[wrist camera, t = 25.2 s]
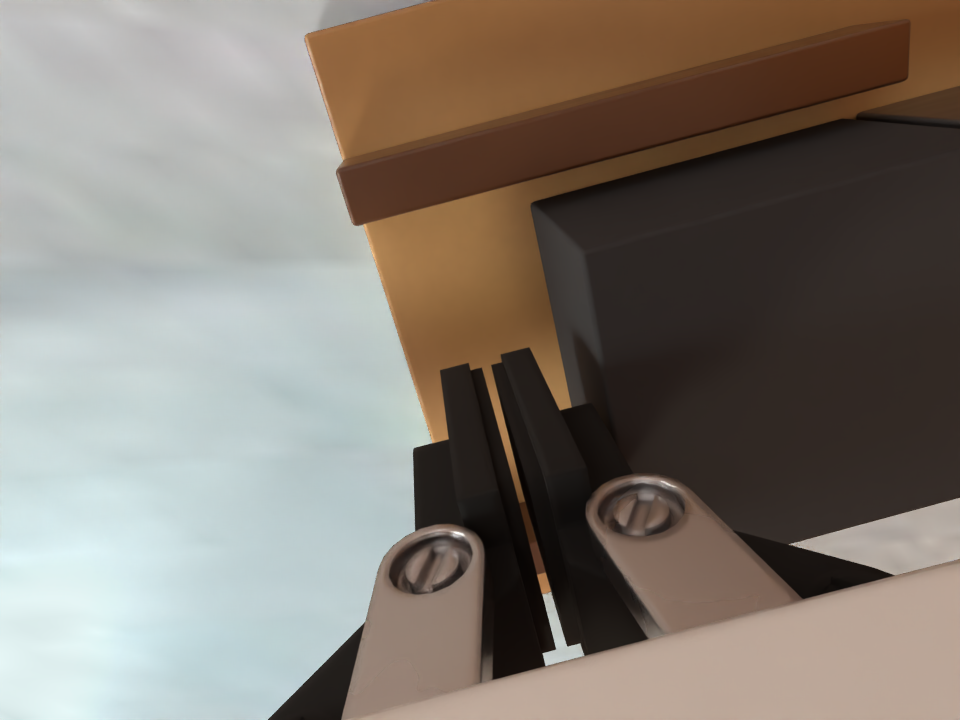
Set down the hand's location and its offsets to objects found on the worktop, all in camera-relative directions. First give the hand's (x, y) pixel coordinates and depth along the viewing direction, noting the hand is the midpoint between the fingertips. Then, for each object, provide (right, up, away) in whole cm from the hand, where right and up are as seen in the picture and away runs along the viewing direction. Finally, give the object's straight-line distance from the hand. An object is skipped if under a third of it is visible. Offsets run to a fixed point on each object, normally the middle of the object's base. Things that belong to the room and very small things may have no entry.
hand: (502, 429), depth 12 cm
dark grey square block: (+4, +2, +2) cm, 6 cm away
